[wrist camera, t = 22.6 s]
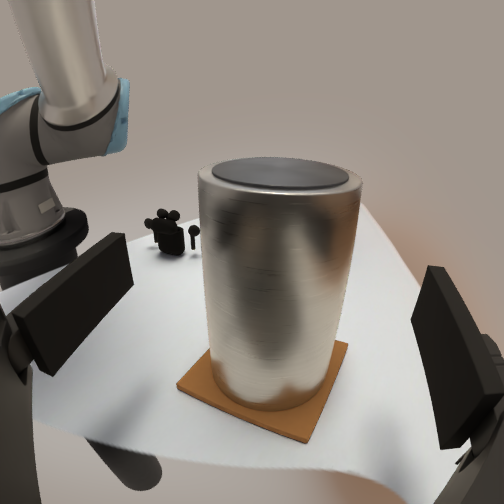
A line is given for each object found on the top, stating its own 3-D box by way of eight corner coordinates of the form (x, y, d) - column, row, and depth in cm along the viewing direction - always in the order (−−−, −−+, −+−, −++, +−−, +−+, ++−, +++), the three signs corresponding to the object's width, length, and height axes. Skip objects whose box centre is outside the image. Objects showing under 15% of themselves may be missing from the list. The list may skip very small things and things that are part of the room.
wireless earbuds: (203, 255, 33) (201, 210, 31) (191, 266, 31) (188, 219, 29) (151, 245, 35) (146, 204, 33) (138, 254, 33) (131, 211, 31)
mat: (176, 388, 17) (175, 383, 17) (242, 316, 24) (242, 311, 24) (306, 444, 14) (308, 440, 14) (347, 348, 21) (348, 343, 21)
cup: (189, 382, 17) (161, 177, 12) (245, 318, 23) (246, 151, 18) (302, 428, 15) (345, 204, 9) (338, 346, 20) (371, 168, 15)
